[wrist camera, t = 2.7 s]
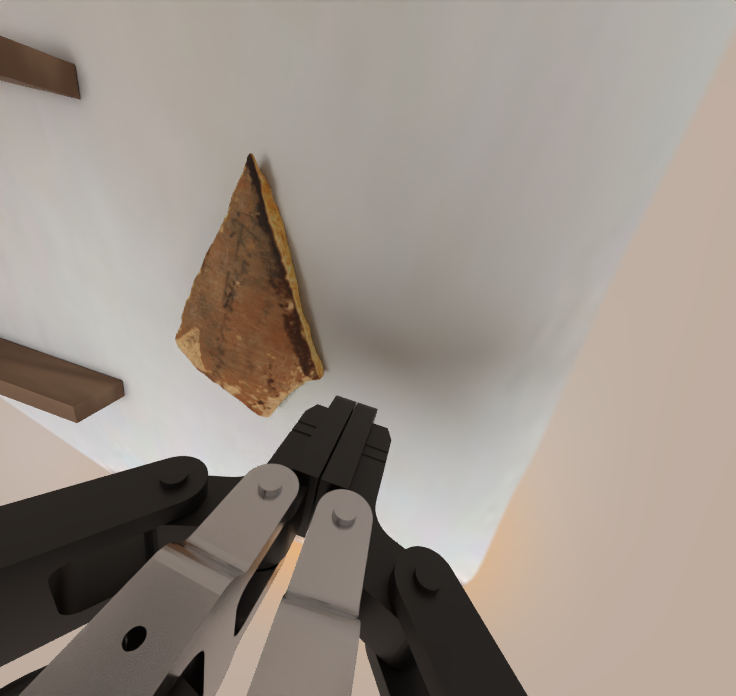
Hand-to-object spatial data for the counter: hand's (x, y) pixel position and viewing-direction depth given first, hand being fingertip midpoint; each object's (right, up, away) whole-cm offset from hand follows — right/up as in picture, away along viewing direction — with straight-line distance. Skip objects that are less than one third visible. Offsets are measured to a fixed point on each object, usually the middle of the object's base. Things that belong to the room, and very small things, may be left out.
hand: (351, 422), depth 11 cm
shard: (-6, +5, +6) cm, 10 cm away
